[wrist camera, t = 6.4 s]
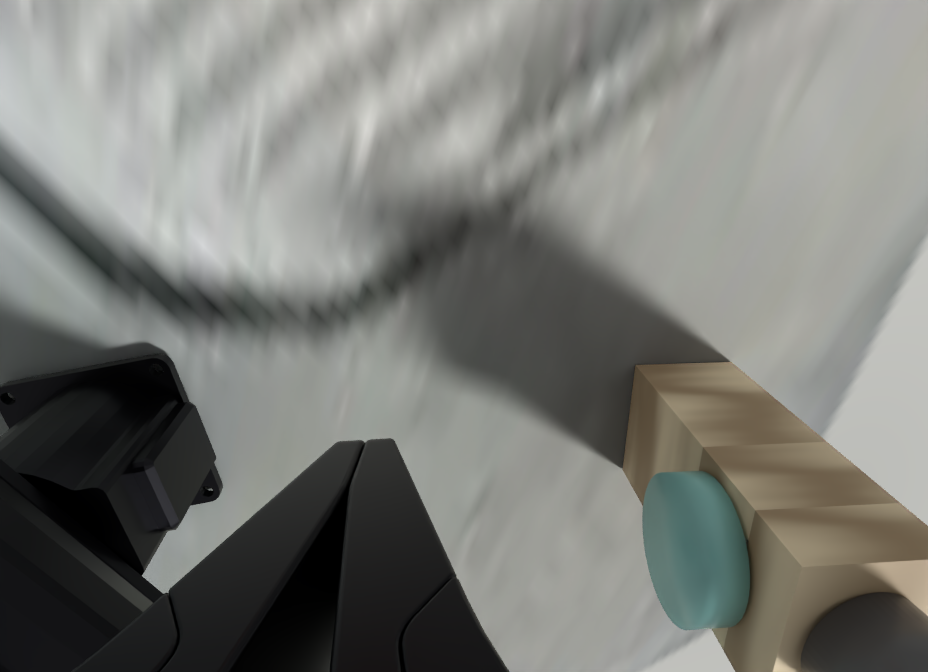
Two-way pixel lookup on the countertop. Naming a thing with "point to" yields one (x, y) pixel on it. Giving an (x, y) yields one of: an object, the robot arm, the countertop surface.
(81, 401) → the robot arm
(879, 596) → the dial
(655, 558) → the knob
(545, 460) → the countertop surface
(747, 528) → the mount
